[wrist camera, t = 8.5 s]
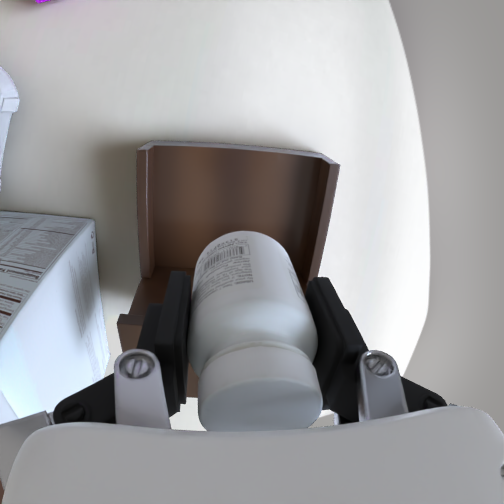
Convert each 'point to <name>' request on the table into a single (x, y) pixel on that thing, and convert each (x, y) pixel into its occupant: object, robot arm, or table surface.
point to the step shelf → (223, 212)
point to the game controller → (6, 108)
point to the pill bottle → (252, 338)
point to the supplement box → (48, 312)
